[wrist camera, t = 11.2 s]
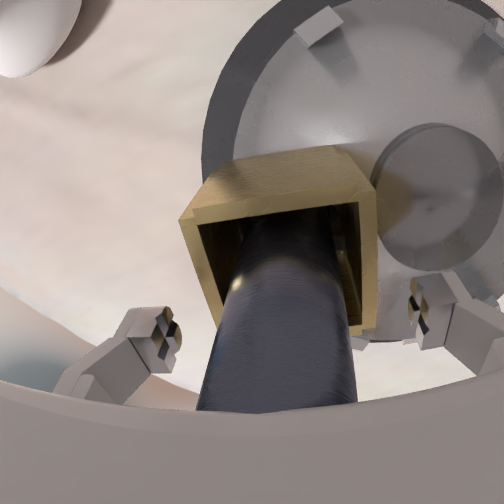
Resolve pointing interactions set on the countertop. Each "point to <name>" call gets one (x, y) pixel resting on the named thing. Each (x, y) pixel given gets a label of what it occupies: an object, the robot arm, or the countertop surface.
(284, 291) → the pin
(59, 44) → the flower in vase
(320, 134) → the grey round disc
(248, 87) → the housing
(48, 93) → the countertop surface
